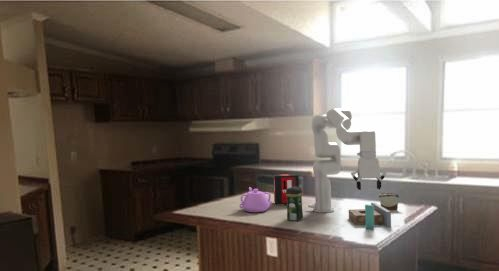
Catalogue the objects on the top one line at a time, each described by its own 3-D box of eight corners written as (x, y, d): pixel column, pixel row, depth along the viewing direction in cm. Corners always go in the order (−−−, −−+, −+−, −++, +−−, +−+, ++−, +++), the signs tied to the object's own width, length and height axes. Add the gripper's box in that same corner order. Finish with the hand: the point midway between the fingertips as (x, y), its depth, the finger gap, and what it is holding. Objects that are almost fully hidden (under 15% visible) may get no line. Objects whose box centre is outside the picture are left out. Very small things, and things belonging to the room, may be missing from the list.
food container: (396, 208, 217) (396, 192, 217) (399, 210, 211) (399, 194, 211) (376, 208, 218) (376, 192, 218) (379, 210, 212) (378, 194, 212)
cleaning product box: (297, 201, 246) (296, 173, 246) (299, 204, 237) (298, 175, 237) (274, 202, 246) (273, 174, 246) (275, 205, 237) (274, 176, 237)
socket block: (355, 225, 179) (355, 215, 179) (348, 218, 193) (348, 209, 193) (382, 224, 179) (382, 214, 179) (373, 217, 193) (373, 209, 193)
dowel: (367, 230, 170) (366, 206, 170) (364, 228, 174) (363, 204, 174) (375, 230, 170) (374, 205, 170) (372, 228, 174) (371, 204, 174)
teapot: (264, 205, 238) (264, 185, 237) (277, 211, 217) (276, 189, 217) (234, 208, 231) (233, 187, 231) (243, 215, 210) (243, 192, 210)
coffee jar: (291, 216, 202) (291, 185, 202) (304, 218, 198) (303, 185, 198) (284, 220, 194) (284, 187, 194) (297, 222, 190) (297, 188, 190)
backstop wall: (387, 227, 174) (386, 211, 174) (371, 216, 198) (371, 202, 198) (391, 227, 174) (390, 211, 174) (375, 216, 198) (374, 202, 198)
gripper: (352, 155, 169) (353, 190, 169) (388, 154, 168) (389, 190, 168) (348, 155, 176) (349, 188, 176) (382, 154, 176) (383, 187, 176)
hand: (369, 189), depth 172 cm, fingers open, 9 cm apart
